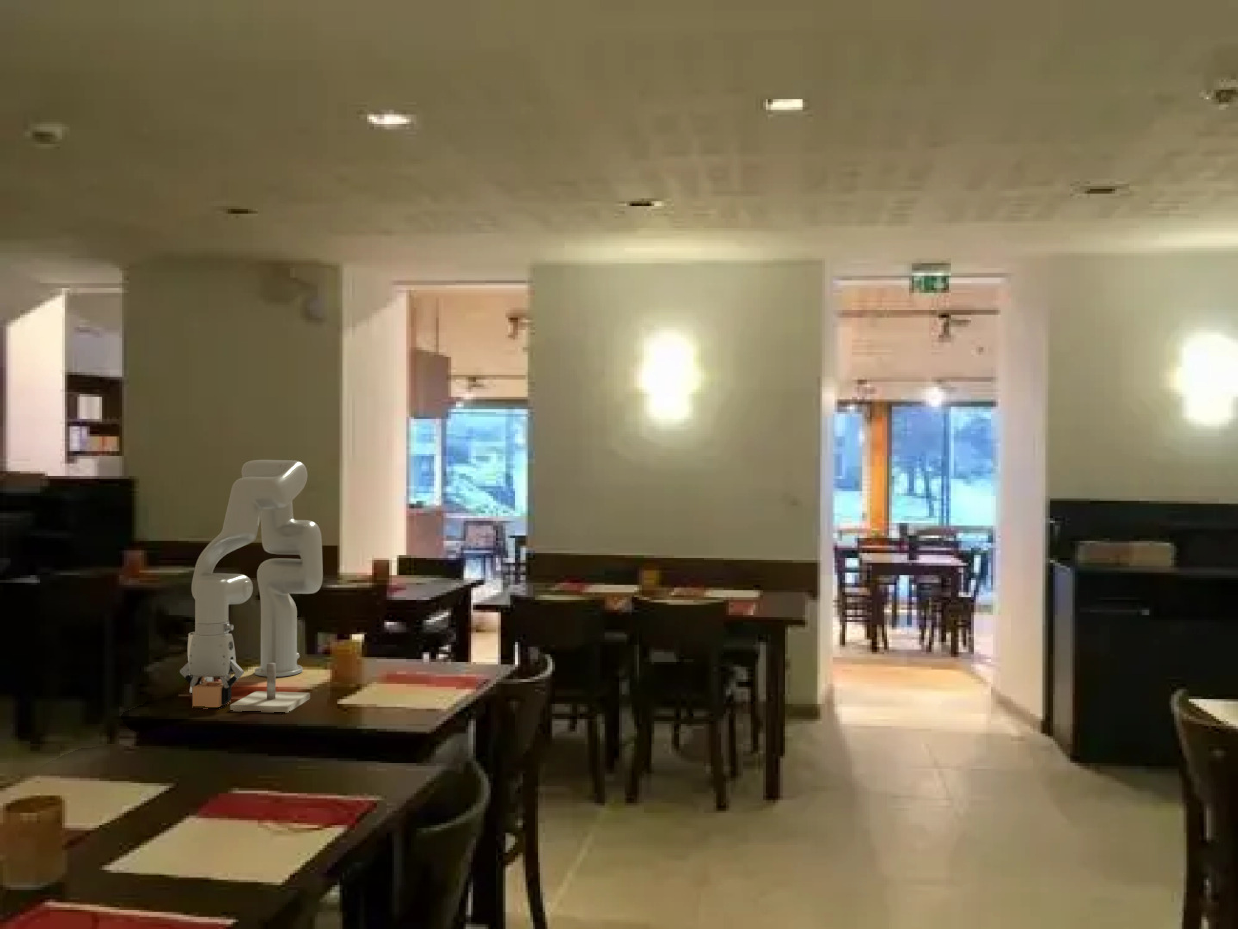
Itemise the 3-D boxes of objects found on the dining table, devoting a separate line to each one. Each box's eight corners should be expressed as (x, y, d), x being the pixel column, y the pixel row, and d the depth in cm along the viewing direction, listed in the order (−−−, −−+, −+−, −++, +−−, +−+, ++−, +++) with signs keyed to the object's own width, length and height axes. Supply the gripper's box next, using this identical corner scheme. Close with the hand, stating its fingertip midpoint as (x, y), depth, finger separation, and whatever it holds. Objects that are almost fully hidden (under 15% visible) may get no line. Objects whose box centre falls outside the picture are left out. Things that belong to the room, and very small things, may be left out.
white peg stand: (255, 697, 263) (255, 657, 263) (310, 698, 262) (310, 658, 261) (230, 711, 249) (230, 669, 249) (287, 713, 248) (287, 670, 247)
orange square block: (205, 701, 258) (205, 681, 258) (230, 702, 257) (230, 682, 257) (192, 708, 252) (192, 687, 251) (218, 708, 251) (218, 688, 251)
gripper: (253, 627, 257) (253, 700, 257) (185, 625, 259) (185, 698, 259) (239, 632, 250) (239, 708, 250) (169, 631, 251) (169, 705, 251)
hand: (211, 702), depth 254 cm, fingers closed on orange square block, 6 cm apart
